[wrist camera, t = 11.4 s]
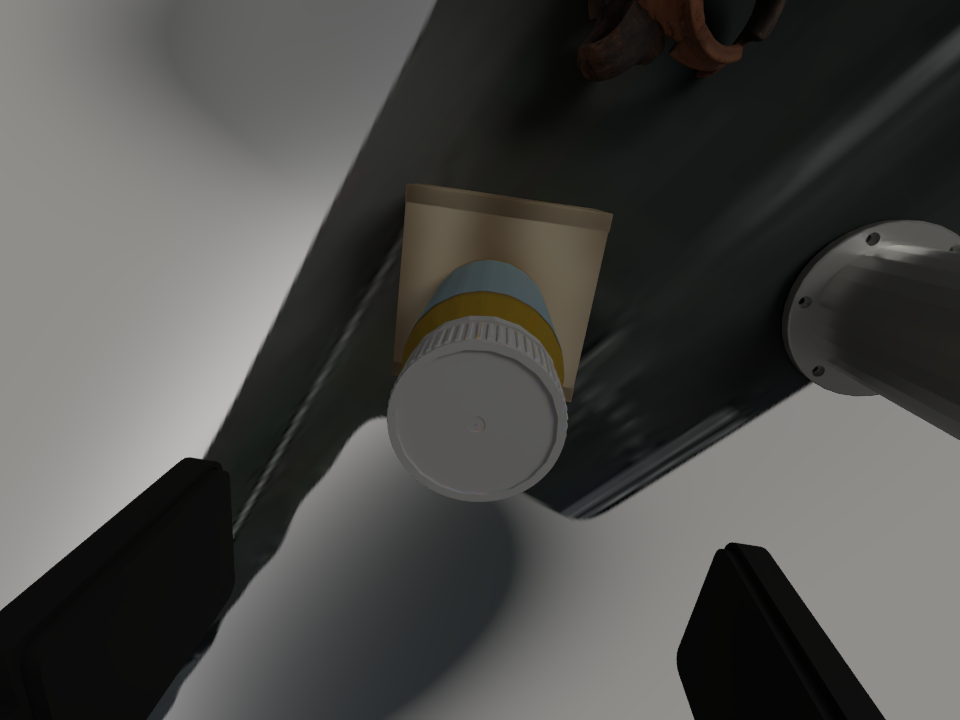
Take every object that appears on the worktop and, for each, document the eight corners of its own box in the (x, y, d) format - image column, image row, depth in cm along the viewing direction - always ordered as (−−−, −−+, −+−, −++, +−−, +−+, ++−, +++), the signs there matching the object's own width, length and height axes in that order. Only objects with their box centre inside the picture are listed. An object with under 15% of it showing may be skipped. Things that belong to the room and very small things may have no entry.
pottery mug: (658, -140, 27) (795, -209, 21) (706, 19, 33) (824, 5, 27) (512, 17, 28) (602, -2, 21) (585, 148, 34) (672, 163, 27)
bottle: (509, 383, 32) (515, 541, 18) (415, 333, 31) (341, 459, 17) (566, 292, 30) (623, 391, 16) (465, 235, 29) (429, 286, 15)
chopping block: (595, 209, 34) (613, 214, 28) (561, 369, 38) (570, 402, 32) (423, 183, 34) (406, 183, 28) (408, 346, 38) (391, 374, 32)
